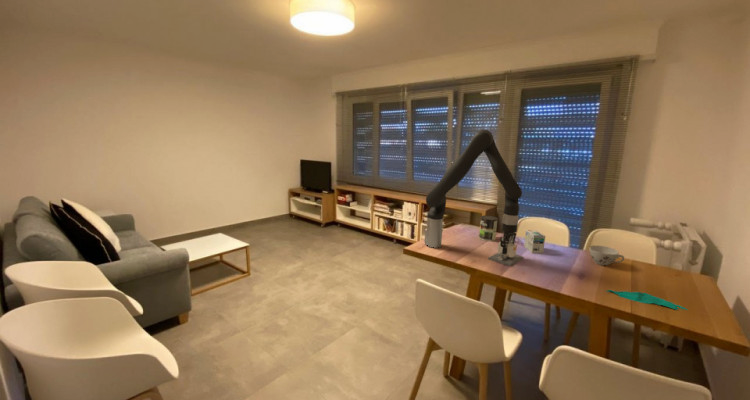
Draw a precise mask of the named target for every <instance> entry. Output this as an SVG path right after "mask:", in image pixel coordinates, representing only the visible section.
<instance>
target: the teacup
mask: <svg viewBox="0 0 750 400" xmlns="http://www.w3.org/2000/svg"><path fill="white" fill-rule="evenodd" d="M589 254H590V257H591V259H592V260H593V261H594V263H595V264H597V265H599V266H604V265H606V266H605V267H607V266H609V265H610V264H613V263H615V264H618V263H619V264H620V263H622V262H624V261H625V256H624V254H619V251H618V250H616V248H612V247H609V246H604V245H590V246H589ZM618 258H622V259H621V260H617V259H618Z"/></svg>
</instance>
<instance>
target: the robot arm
mask: <svg viewBox="0 0 750 400" xmlns="http://www.w3.org/2000/svg"><path fill="white" fill-rule="evenodd" d="M483 153H484V154H485V156H486V157H487V159H488V162H489V163H490V164H489V165H490V166H491V169H492V171H493V173H494V175H495V176H496V178H497V180H498V182H499V183H500V184H501V185H502V188H503V189H504V208H503V209H504V210H503V215H502V221H501V231H502V232H503V234H502V235H503V236H500V237H499V240H500V241H499V242H500V244H501V247H503V250H502V254H505V255H506V254H507V247H508V244H509V243H511V244H515V242H516V237H517V231H518V227H519V226H518V225H519V224H518V223H519V212H520V206H519V199H520V198H521V197H522V195H523V191H522V190H523V189H521V187H520V185H519V184H518V182H517V181H516V179H515V178H514V176H513V174H512V172H511V170H510V169H509V166H508V165H507V164H506V162H505V161H504V159H503V157H502V155H501V153H500V152H499V150H498V147H497V145H496V142H495V139H494V137H493V132H491V131H489V130H488V129H481V130H479V131H478V132H476V133H475V134H474V136H473V137H472V139H471V141H470V142H469V144H468V146H467V147H466V148H465V150H464V151H463V152H462V153H461V154H460V155H459V156H458V157H457V158H456V159H455V161H454V162H453V163H452V164H451V165H450V166H449V168H448V169H447V171H446V172H445V173H444V174H443V176H442V177H441V178H440V180H439V181H438V183H437V184H436V185H435V186H434V187H433V188H432V189H431V190H430V191H429V192H428V194H427V195H426V198H425V201H426V202H425V203H426V206H428V207H429V208H430V209H429V210H428V212H427V218H426V228H425V230H424V243H425V244H426V245H428V246H430V247H429V248H431V247H434V248H433V249H437V248H438V247H439V248H441V247H442V243H443V242H442V239H443V227H444V225H443V224H444V215H445V212H446V204H447V196H446V194H448V192H450V191H451V190H452V189H454V187H455V186H457V185H458V184H459V183H460V182H461V181H462V180H463V179H464V178H465V176H466V175H467V174H468V173H469V171H470V170H471V168H472V167H473V165H474V163H475V162H476V161H477V159H478V158H479V157H480V156H481V154H483ZM425 244H424V245H425ZM426 245H425V246H426ZM428 246H427V247H428ZM439 248H438V249H439Z"/></svg>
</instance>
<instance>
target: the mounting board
mask: <svg viewBox="0 0 750 400" xmlns="http://www.w3.org/2000/svg"><path fill="white" fill-rule="evenodd" d="M501 255H503V254H498V253H497V252H496V253H495V254H493V255H490V256H488V258H487V259H488V260H490V261H491V262H495V263H498V264H502V265H505V266H508V267H512V266H514V265H516V264H517V263H519V262H520V261H522V260H524V259H525V256H522V255H518V254H516V256H514V257H508V258H507V259H505V260H503V261H500V260H498V258H497V257H499V256H501Z"/></svg>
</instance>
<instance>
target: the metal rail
mask: <svg viewBox="0 0 750 400" xmlns="http://www.w3.org/2000/svg"><path fill="white" fill-rule="evenodd" d="M508 257H509V255H508V254H506V255H505V254H503V255H501V256H499V257H497V258H498V260H500V261H503V260H505V259H507V258H508Z"/></svg>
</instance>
